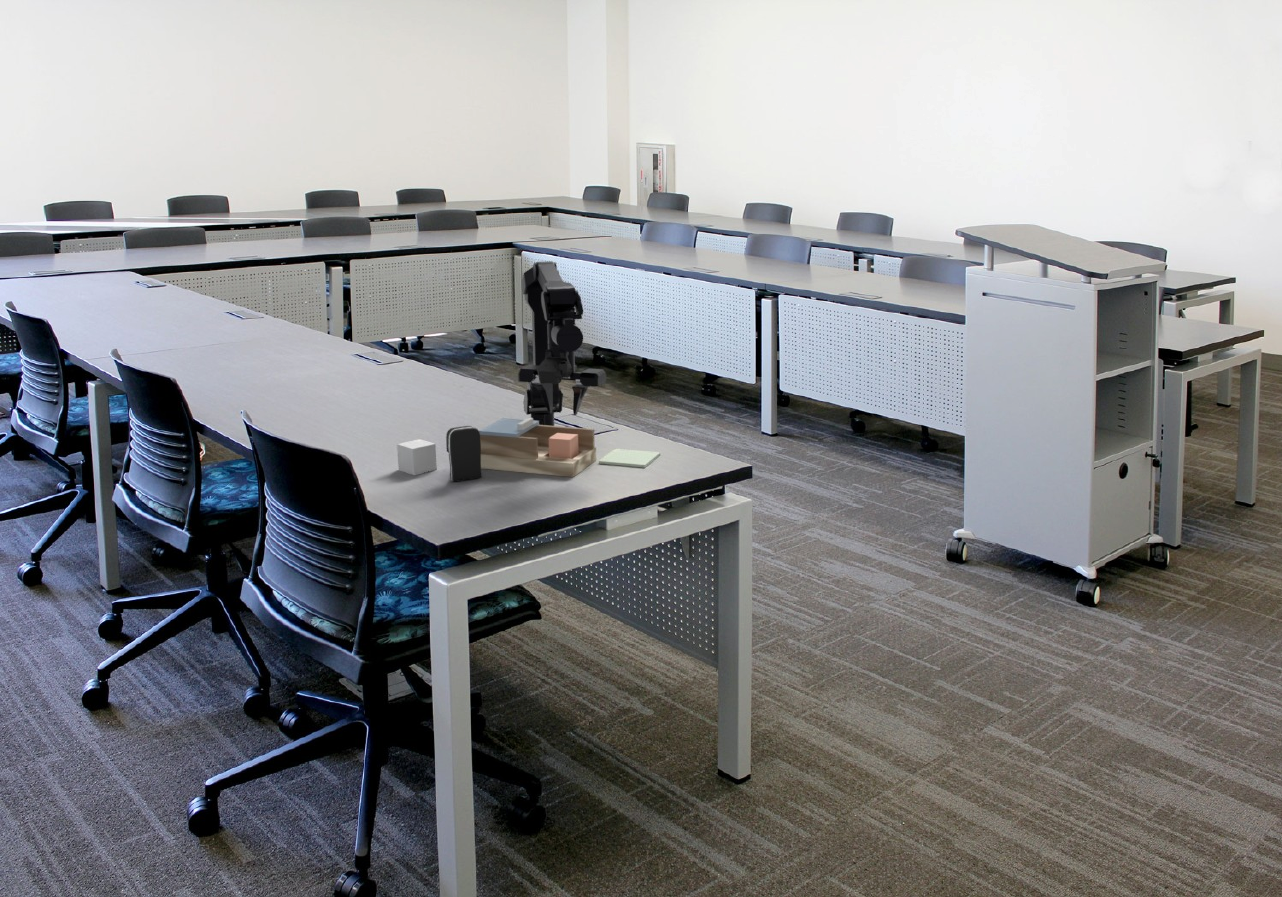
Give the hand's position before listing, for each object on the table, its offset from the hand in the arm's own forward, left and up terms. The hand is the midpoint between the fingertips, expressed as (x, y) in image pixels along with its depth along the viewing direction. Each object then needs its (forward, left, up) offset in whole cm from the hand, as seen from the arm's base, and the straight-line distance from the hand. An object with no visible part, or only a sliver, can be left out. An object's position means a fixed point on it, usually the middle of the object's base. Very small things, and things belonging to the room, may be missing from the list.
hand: (562, 413), depth 258 cm
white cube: (+12, -30, -12) cm, 35 cm away
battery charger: (+15, -17, -12) cm, 26 cm away
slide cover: (0, -13, -4) cm, 14 cm away
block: (0, 0, -12) cm, 12 cm away
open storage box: (0, -7, -12) cm, 14 cm away
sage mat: (-10, +12, -12) cm, 20 cm away
